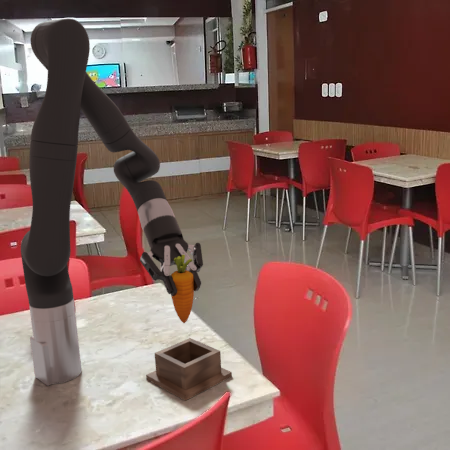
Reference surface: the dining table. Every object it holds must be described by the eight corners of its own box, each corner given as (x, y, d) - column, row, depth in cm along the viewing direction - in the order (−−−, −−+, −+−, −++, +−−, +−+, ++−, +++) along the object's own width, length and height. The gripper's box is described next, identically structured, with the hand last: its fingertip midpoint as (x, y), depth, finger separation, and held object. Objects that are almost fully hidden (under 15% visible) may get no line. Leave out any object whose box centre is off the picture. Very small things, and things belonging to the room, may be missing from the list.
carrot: (183, 316, 119) (179, 250, 116) (200, 321, 116) (197, 253, 112) (167, 324, 115) (163, 255, 112) (184, 329, 112) (180, 259, 109)
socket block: (185, 400, 108) (183, 373, 107) (146, 379, 118) (144, 353, 116) (231, 376, 117) (230, 350, 116) (192, 358, 126) (190, 333, 125)
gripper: (131, 218, 113) (158, 290, 106) (193, 209, 120) (222, 276, 113) (125, 238, 119) (149, 307, 112) (184, 229, 126) (211, 293, 118)
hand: (186, 291), depth 112 cm, fingers closed on carrot, 4 cm apart
